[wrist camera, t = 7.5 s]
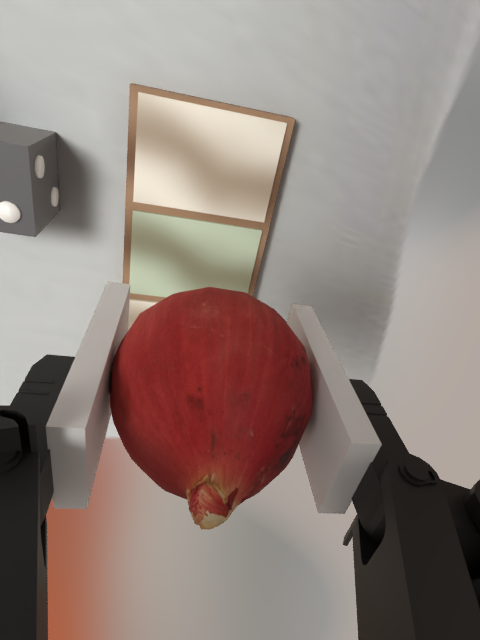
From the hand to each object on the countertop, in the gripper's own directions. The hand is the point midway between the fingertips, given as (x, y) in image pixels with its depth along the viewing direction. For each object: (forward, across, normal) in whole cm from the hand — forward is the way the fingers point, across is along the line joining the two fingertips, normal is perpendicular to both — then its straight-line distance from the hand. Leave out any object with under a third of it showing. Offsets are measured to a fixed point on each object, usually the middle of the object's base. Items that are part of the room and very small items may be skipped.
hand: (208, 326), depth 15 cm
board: (+16, 0, -4) cm, 16 cm away
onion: (0, 0, 0) cm, 0 cm away
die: (+16, -12, +1) cm, 20 cm away
